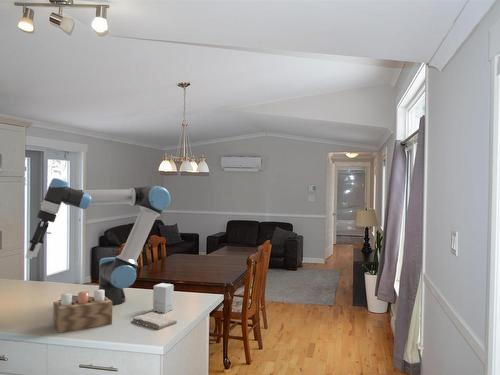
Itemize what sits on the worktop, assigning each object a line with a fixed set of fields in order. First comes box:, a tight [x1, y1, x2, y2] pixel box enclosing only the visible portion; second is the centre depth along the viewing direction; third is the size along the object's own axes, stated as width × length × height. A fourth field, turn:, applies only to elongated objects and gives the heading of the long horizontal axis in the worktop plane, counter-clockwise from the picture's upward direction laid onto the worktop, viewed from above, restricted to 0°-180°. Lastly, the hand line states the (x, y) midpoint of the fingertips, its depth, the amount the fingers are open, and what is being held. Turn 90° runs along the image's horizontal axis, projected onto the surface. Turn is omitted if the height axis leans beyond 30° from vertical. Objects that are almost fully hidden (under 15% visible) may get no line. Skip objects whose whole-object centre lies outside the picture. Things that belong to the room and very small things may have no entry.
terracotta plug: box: [77, 290, 90, 304], centre depth 200 cm, size 4×4×9 cm
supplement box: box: [152, 282, 175, 314], centre depth 224 cm, size 7×7×13 cm
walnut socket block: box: [52, 296, 113, 333], centre depth 200 cm, size 22×12×10 cm, turn 125°
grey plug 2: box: [93, 289, 105, 302], centre depth 204 cm, size 4×4×9 cm
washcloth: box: [132, 311, 178, 330], centre depth 205 cm, size 12×18×3 cm, turn 56°
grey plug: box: [60, 292, 73, 306], centre depth 196 cm, size 4×4×9 cm
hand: (30, 257), depth 202 cm, fingers open, 13 cm apart
